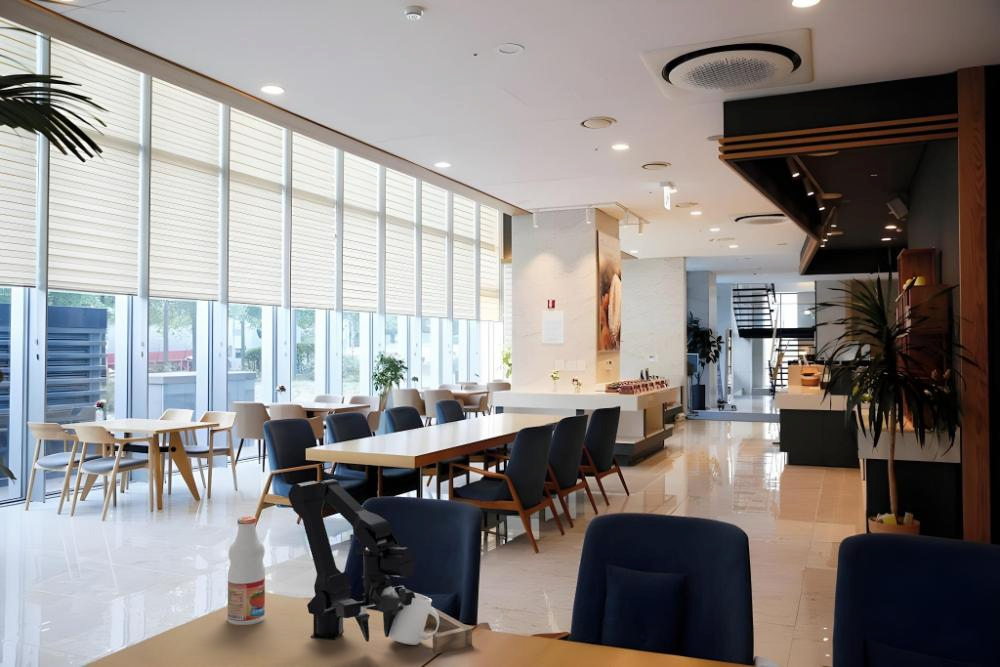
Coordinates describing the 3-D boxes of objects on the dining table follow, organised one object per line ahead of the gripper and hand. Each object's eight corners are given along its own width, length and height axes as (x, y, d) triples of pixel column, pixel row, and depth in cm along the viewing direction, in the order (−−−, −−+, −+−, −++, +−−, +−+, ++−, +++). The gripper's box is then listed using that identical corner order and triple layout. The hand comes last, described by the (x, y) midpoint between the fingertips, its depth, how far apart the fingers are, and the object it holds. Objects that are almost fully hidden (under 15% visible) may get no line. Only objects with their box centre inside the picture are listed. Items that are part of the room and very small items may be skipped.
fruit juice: (231, 618, 210) (233, 514, 211) (267, 617, 211) (268, 514, 212) (223, 631, 201) (224, 522, 202) (260, 629, 202) (261, 521, 203)
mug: (428, 651, 186) (440, 606, 188) (382, 636, 188) (394, 592, 190) (436, 646, 194) (447, 603, 196) (391, 632, 197) (403, 589, 199)
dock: (436, 653, 186) (436, 637, 186) (398, 629, 202) (398, 613, 203) (472, 645, 192) (472, 628, 192) (432, 621, 208) (432, 606, 208)
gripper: (353, 586, 176) (354, 657, 175) (425, 572, 187) (427, 639, 186) (334, 577, 185) (335, 644, 184) (404, 564, 196) (405, 627, 195)
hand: (377, 639), depth 187 cm, fingers open, 5 cm apart
